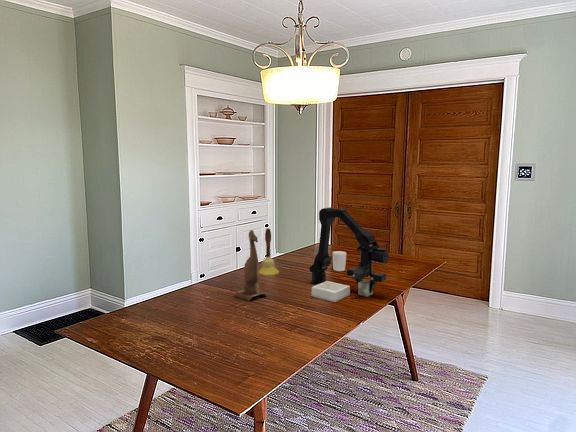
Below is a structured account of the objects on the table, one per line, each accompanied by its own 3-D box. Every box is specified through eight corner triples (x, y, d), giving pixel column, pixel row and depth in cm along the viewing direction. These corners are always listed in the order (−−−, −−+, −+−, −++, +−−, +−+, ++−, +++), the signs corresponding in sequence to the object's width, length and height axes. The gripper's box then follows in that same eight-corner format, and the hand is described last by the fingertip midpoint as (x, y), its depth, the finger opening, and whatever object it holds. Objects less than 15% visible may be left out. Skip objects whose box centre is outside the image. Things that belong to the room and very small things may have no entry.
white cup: (345, 271, 245) (345, 254, 244) (331, 271, 247) (331, 253, 246) (346, 268, 253) (346, 251, 252) (333, 267, 255) (333, 250, 253)
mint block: (358, 294, 207) (358, 282, 206) (363, 291, 211) (363, 279, 210) (367, 296, 204) (367, 284, 203) (372, 293, 208) (372, 281, 207)
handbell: (283, 273, 243) (283, 229, 239) (264, 276, 236) (264, 231, 232) (271, 268, 253) (271, 226, 249) (253, 271, 246) (252, 228, 242)
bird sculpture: (250, 303, 196) (252, 234, 190) (233, 296, 203) (234, 229, 198) (268, 297, 204) (269, 230, 199) (251, 291, 212) (252, 227, 206)
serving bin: (311, 296, 204) (311, 287, 203) (327, 289, 214) (327, 280, 213) (334, 302, 196) (335, 292, 195) (349, 295, 206) (350, 286, 205)
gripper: (340, 260, 204) (339, 292, 207) (376, 267, 193) (375, 300, 195) (352, 256, 213) (351, 286, 215) (387, 262, 201) (386, 294, 204)
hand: (365, 292), depth 207 cm, fingers closed on mint block, 5 cm apart
